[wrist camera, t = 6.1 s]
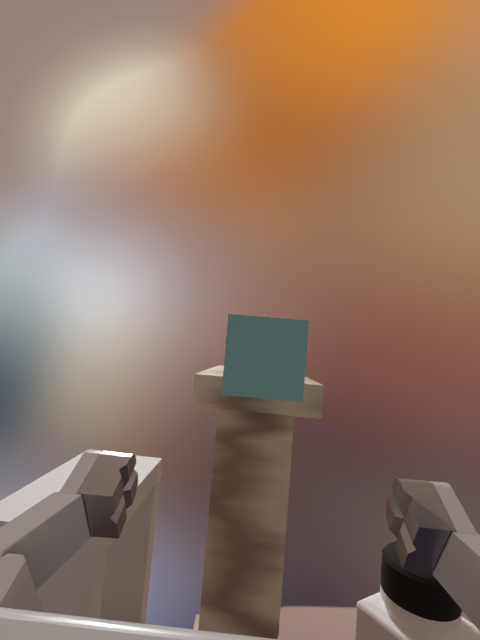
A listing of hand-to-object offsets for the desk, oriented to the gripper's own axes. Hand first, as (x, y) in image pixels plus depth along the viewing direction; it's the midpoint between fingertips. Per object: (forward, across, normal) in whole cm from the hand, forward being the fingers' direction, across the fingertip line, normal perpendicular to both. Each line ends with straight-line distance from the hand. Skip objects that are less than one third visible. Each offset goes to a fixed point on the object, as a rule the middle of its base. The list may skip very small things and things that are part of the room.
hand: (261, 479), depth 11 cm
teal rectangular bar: (+13, 0, +5) cm, 14 cm away
